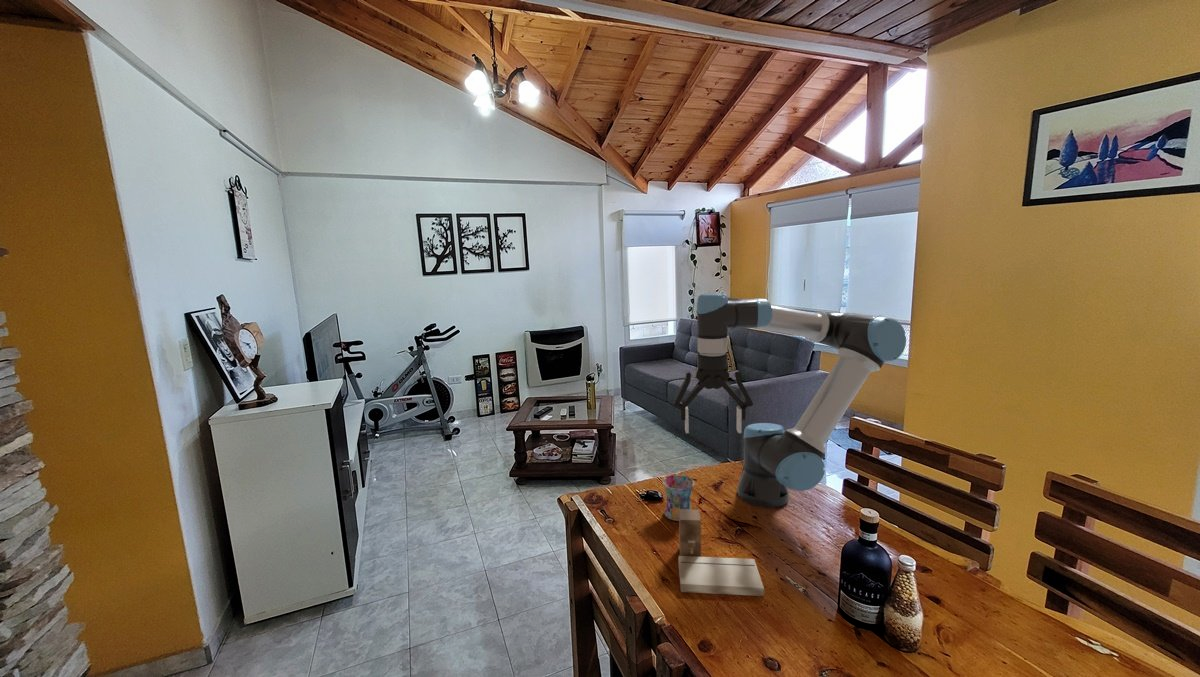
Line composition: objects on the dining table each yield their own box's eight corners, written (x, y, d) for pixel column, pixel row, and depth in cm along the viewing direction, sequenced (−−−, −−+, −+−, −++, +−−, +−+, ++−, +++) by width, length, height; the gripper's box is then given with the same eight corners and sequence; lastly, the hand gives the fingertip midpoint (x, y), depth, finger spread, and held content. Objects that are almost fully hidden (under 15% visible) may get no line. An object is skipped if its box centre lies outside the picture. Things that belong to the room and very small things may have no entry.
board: (753, 566, 109) (754, 558, 108) (763, 596, 99) (764, 587, 98) (678, 563, 111) (678, 555, 110) (680, 591, 101) (680, 583, 101)
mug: (682, 528, 126) (682, 492, 124) (656, 516, 132) (655, 482, 131) (705, 511, 134) (705, 477, 132) (679, 500, 141) (679, 468, 139)
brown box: (699, 549, 116) (698, 509, 114) (702, 572, 107) (702, 529, 105) (679, 548, 117) (678, 509, 115) (681, 571, 108) (681, 529, 106)
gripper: (758, 349, 119) (757, 426, 122) (663, 351, 122) (665, 426, 125) (765, 354, 111) (764, 436, 115) (664, 357, 114) (666, 436, 118)
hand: (712, 431), depth 120 cm, fingers open, 13 cm apart
